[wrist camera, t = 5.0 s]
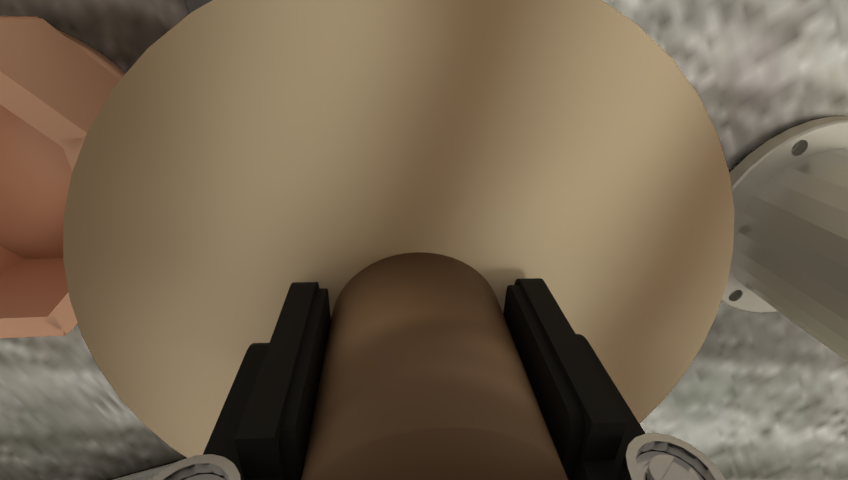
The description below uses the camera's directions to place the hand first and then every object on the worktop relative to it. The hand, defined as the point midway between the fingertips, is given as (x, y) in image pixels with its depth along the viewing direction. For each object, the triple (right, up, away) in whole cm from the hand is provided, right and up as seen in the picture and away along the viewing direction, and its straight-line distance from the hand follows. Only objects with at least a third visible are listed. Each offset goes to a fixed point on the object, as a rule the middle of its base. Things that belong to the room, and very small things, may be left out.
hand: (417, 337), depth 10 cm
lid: (0, +1, +1) cm, 2 cm away
